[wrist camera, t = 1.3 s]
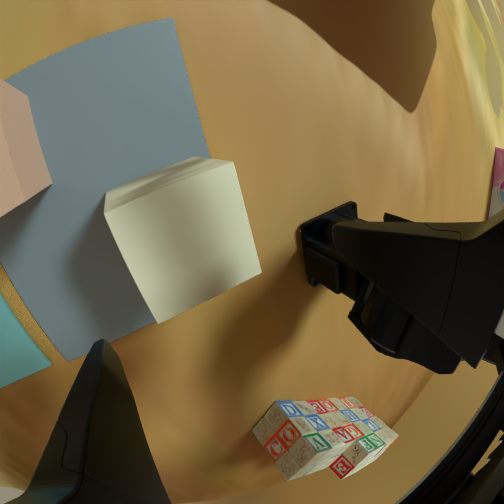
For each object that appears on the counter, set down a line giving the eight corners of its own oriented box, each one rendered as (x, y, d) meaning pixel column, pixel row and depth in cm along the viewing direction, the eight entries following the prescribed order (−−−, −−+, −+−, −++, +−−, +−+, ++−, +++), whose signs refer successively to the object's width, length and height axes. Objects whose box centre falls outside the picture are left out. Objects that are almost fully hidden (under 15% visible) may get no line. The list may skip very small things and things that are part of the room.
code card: (172, 17, 13) (173, 17, 12) (244, 276, 22) (245, 277, 22) (-46, 118, 7) (-47, 118, 7) (68, 361, 17) (68, 362, 17)
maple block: (194, 156, 17) (233, 161, 12) (219, 238, 20) (261, 272, 15) (105, 192, 15) (103, 213, 10) (141, 274, 18) (158, 324, 13)
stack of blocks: (249, 430, 32) (300, 499, 22) (274, 399, 31) (335, 470, 21) (334, 419, 44) (376, 460, 34) (354, 395, 43) (400, 436, 33)
